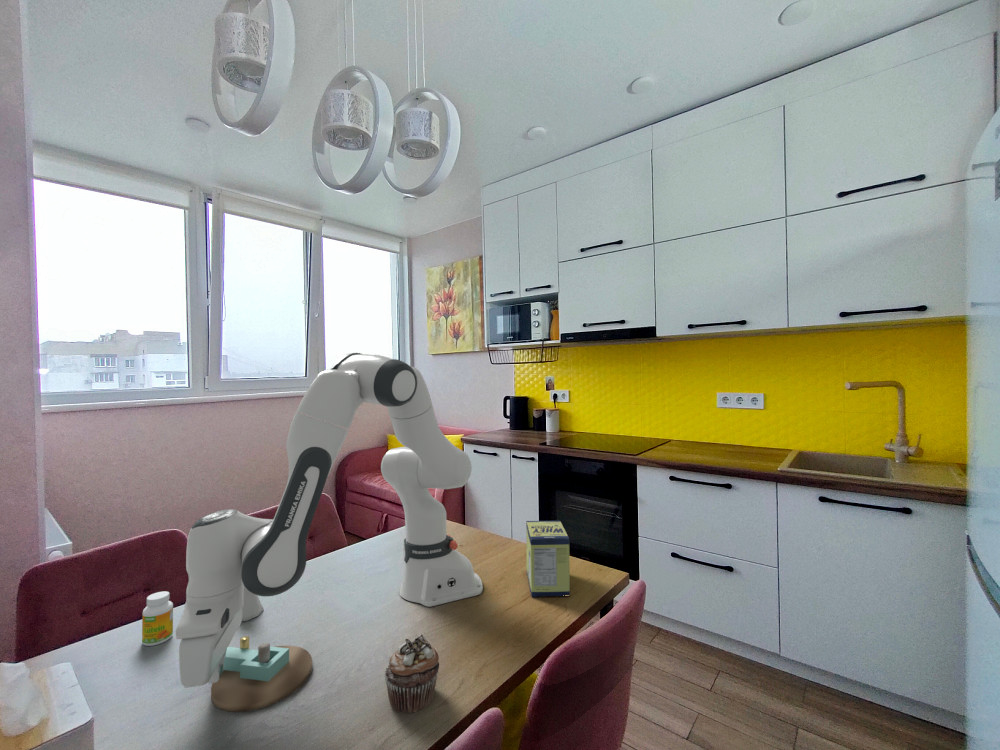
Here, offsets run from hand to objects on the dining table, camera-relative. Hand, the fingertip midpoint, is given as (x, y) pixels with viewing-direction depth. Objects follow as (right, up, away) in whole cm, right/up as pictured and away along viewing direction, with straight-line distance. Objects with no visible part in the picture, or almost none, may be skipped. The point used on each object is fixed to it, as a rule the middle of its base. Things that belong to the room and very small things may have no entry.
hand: (215, 677), depth 80 cm
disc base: (+7, -3, +4) cm, 8 cm away
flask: (-10, -4, +27) cm, 29 cm away
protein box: (+65, -4, +43) cm, 78 cm away
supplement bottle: (-24, -4, +17) cm, 30 cm away
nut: (+3, -2, +5) cm, 6 cm away
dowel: (0, -2, +8) cm, 8 cm away
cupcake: (+36, -3, -1) cm, 36 cm away
